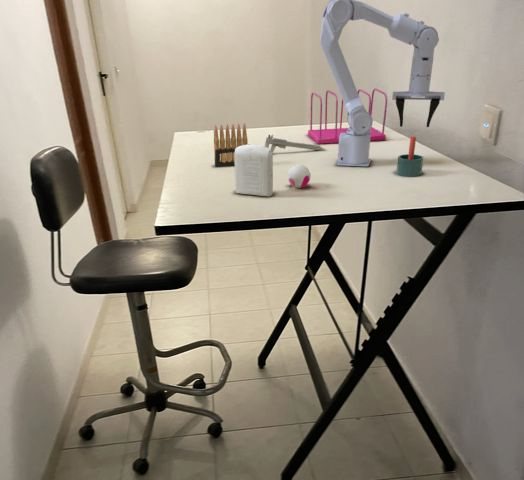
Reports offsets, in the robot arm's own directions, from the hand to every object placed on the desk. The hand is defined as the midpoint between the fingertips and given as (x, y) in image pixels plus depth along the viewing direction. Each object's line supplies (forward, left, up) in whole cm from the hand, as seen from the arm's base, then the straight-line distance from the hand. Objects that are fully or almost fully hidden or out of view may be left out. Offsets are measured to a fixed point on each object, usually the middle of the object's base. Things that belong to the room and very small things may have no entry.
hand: (414, 126), depth 157 cm
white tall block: (-39, -40, -11) cm, 57 cm away
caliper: (-38, +8, -11) cm, 40 cm away
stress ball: (-28, -32, -11) cm, 44 cm away
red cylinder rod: (0, -13, -10) cm, 16 cm away
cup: (0, -13, -10) cm, 17 cm away
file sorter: (-24, +33, -11) cm, 42 cm away
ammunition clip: (-54, -12, -11) cm, 56 cm away
